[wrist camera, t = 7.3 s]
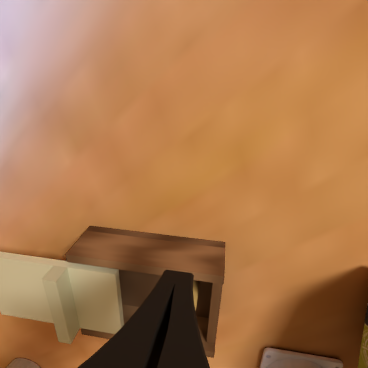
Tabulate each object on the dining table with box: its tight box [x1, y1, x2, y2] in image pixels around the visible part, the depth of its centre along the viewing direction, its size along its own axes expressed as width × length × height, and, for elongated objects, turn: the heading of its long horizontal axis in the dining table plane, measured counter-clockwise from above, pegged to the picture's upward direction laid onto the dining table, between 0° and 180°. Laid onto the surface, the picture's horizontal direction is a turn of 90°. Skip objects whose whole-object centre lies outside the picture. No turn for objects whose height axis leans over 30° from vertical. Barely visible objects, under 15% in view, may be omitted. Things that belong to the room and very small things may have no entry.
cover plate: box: [0, 252, 124, 344], centre depth 23 cm, size 13×8×2 cm, turn 88°
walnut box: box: [65, 226, 225, 358], centre depth 25 cm, size 13×10×4 cm
